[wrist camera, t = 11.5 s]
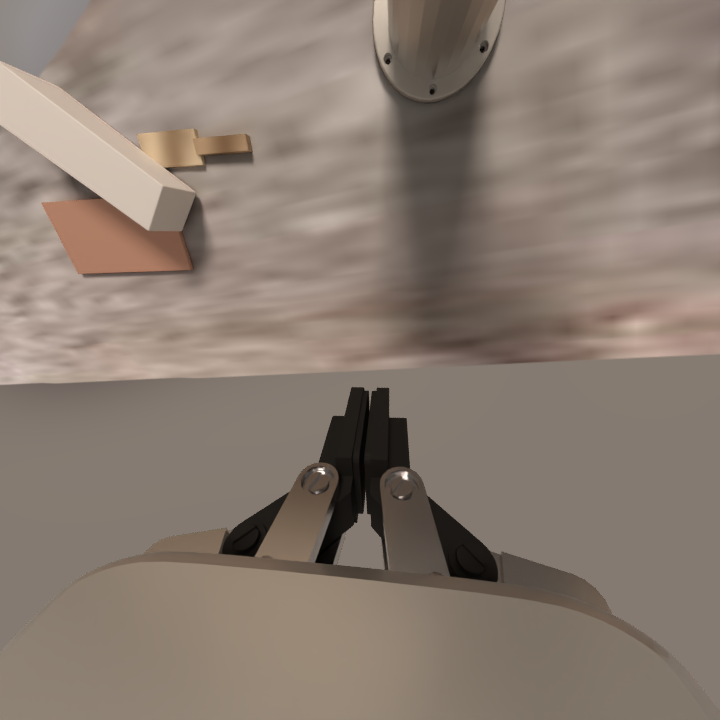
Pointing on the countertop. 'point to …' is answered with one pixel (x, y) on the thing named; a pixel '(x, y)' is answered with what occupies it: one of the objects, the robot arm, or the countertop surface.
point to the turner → (189, 147)
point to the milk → (92, 151)
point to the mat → (114, 239)
